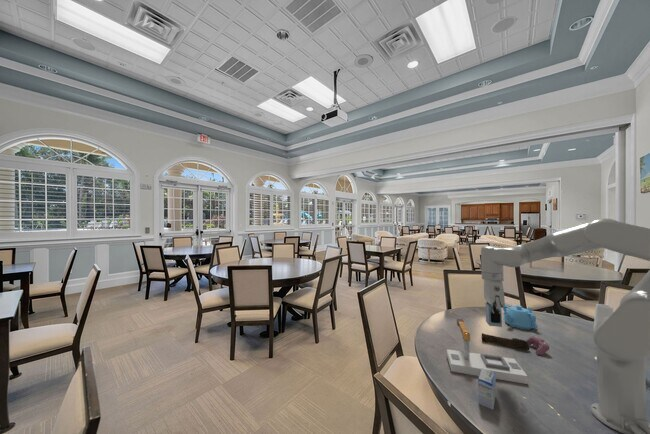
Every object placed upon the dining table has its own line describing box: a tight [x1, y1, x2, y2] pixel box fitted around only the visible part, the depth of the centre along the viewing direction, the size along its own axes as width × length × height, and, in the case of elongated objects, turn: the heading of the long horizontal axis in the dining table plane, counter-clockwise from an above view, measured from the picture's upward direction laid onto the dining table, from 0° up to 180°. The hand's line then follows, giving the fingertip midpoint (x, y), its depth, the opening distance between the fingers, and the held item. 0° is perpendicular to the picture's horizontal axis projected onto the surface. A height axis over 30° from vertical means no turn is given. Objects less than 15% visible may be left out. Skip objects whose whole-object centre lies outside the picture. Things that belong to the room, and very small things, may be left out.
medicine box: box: [477, 368, 497, 411], centre depth 84 cm, size 8×4×9 cm, turn 141°
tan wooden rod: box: [456, 318, 471, 342], centre depth 110 cm, size 3×17×3 cm, turn 160°
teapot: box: [501, 304, 538, 330], centre depth 143 cm, size 15×17×11 cm
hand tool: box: [481, 332, 530, 351], centre depth 120 cm, size 19×4×5 cm, turn 55°
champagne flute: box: [593, 303, 614, 361], centre depth 106 cm, size 7×7×24 cm
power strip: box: [446, 339, 529, 385], centre depth 102 cm, size 12×26×11 cm, turn 71°
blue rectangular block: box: [484, 302, 503, 328], centre depth 100 cm, size 4×4×8 cm
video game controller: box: [525, 335, 550, 356], centre depth 115 cm, size 10×5×7 cm, turn 171°
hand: (493, 319), depth 100 cm, fingers closed on blue rectangular block, 4 cm apart
